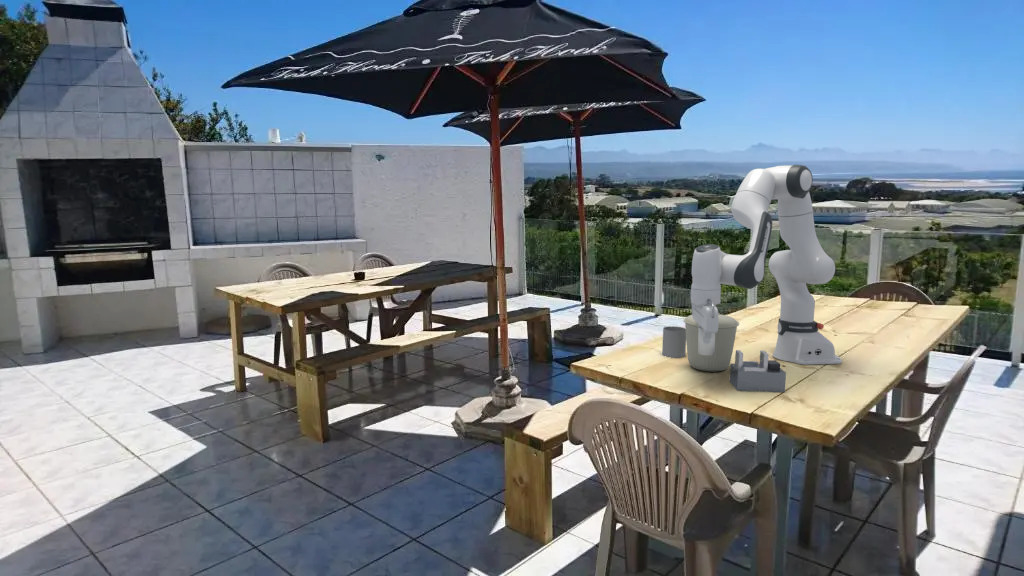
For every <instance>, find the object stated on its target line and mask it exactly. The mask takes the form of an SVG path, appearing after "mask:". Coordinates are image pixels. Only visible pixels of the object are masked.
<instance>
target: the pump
mask: <svg viewBox="0 0 1024 576" xmlns="http://www.w3.org/2000/svg"><path fill="white" fill-rule="evenodd" d="M703 337H704V330H703V329H702V328H701V327H700V328H699V332H698V354H701V355H714V354H715V333H712V335H711V338H710V343H704V341H703Z"/></svg>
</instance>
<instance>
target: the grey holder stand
mask: <svg viewBox="0 0 1024 576" xmlns="http://www.w3.org/2000/svg"><path fill="white" fill-rule="evenodd" d="M734 359H735V360H734V363H731V362H730V364H729V378H728V379H729V380H728V381H729V383H730V384H731V385H732V386H733V388H734V389H735V390H736V391H738V392H739V391H741V392H765V391H769V393H771V392H772V393H785V392H786V381H787V372H786V371H785V370H783V368H781V363H780V362H779V361H777V359H776V360H775V359H774V360H772V359H770V360H769V353H768V352H767V351H765V350H760V351H759V361H757V360H756V361H755V360H753V361H752V360H744V353H743V352H742V350H738V349H736V350H735V355H734Z"/></svg>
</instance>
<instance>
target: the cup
mask: <svg viewBox="0 0 1024 576" xmlns="http://www.w3.org/2000/svg"><path fill="white" fill-rule="evenodd" d="M661 352H662V353H661V356H663V357H665V356H666V357H665V358H669V357H671V358H670V359H682V357H683V358H685V357H686V352H687V343H686V327H681V326H671V325H670V326H665V327H663V328H662V350H661Z"/></svg>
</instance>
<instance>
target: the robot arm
mask: <svg viewBox="0 0 1024 576" xmlns="http://www.w3.org/2000/svg"><path fill="white" fill-rule="evenodd" d="M813 181H814V179H813V174H812V171H811V170H810V169H809V168H808V167H807V166H806V165H802V164H794V165H793V164H791V165H776V166H773V167H771V166H770V167H766V168H754V169H752V170H750V171H749V172H748V173H747V174H746V176H745V177H744V179H742V182H741V184H740V185H739V187H738V189H737V191H736V194H735V195H734V198H733V200H732V203H731V207H730V208H731V209H730V211H731V214H732V216H733V218H734V219H735V221H736V222H737V223H738V224H739V225H741V226H743V227H745V228H747V229H750V230H751V231H752V232H753V233H752V237H751V241H750V246H749V249H748V252H747V253H746V254H743V255H740V254H729V253H726V252H723V251H722V250H721V247H720V246H719V245H718V244H713V243H712V244H710V243H709V244H703V245H699V246H697V247H696V248H694V252H693V254H692V255H693V256H692V260H691V277H692V283H691V287H690V289H691V290H690V292H689V299H690V303H691V315H692V316H693V320H694V321H695V322H696V323H697V324H698V330H699V328H700V327H701V328H702V329H703V330H704V337H703V341H704V343H710V338H711V335H712V333H717V332H718V314H719V310H718V307H717V305H720V304H721V296H722V287H721V286H722V285H726V286H727V285H728V286H734V287H739V288H743V289H748V290H751V289H754V288H755V287H757V286H759V284H760V283H762V282H763V280H764V276H765V272H766V270H765V269H766V260H767V254H768V250H769V246H770V245H769V244H770V241H771V236H772V229H773V218H772V216H771V214H770V213H769V212H768V211H769V207H770V205H771V202H772V201H773V200H777V215H778V217H777V218H778V225H779V234H780V238H781V240H782V241H784V242H785V244H787V246H788V247H789V249H785V250H779V251H775V252H773V254H772V255H771V256H770V258H769V260H768V269H769V271H770V273H771V275H772V276H773V277H774V279H775V281H776V283H777V286H778V291H779V295H780V309H779V310H780V311H779V312H780V314H779V315H780V316H779V318H778V323H777V340H776V343H775V344H776V345H775V348H774V350H773V353H772V357H773V358H775V359H776V360H780V361H785V362H791V363H794V364H799V365H802V366H803V365H804V366H806V365H837V364H839V365H840V364H842V363H843V361H842V358H841V357H840V356H838V355H836V350H835V349H836V348H835V346H834V344H833V342H832V341H831V340H830V339H828V338H827V337H825V336H824V335H823V334H822V333H821V332H820V331H819V330H823V329H824V328H825V325H824V324H823V323H821V322H817V321H816V320H814V317H815V309H816V308H815V307H816V306H815V305H816V301H815V298H814V296H813V295H812V294H811V293H810V291H809V289H808V287H807V284H808V285H823V284H827V283H829V282H830V281H831V280H832V279H833V277H834V275H835V272H836V266H835V265H836V264H835V261H834V260H833V258H832V257H830V256H829V255H828V254H827V253H826V252H825V250H824V249H823V247H822V246H821V243H820V241H819V238H818V236H817V233H816V228H815V220H814V211H813V210H814V209H813V203H812V199H811V194H810V190H811V189H812V186H813V184H814V183H813Z"/></svg>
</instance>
